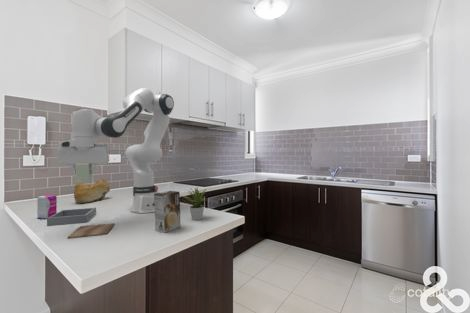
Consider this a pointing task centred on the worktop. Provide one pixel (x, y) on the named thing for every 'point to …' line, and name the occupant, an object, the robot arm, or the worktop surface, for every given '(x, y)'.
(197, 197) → the house plant
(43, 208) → the supplement box
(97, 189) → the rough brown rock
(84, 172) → the sage block
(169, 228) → the coffee box
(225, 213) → the worktop surface
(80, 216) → the frame
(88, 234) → the walnut pad
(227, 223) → the worktop surface
